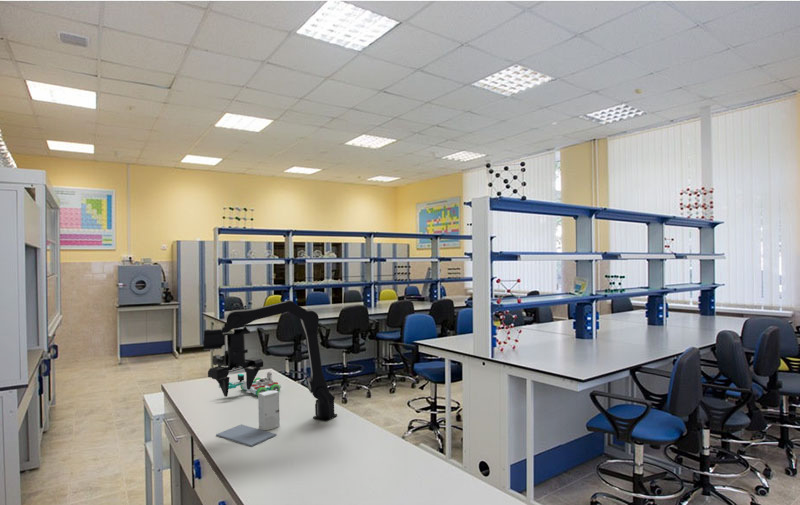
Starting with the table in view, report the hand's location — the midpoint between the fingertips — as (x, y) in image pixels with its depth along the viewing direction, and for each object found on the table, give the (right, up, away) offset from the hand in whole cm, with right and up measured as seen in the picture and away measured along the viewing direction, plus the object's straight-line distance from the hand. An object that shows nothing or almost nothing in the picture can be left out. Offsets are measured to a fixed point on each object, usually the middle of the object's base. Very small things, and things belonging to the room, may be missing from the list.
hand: (237, 392), depth 153 cm
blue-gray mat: (+5, -13, -5) cm, 14 cm away
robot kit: (-10, -14, +43) cm, 46 cm away
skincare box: (+10, -13, +2) cm, 17 cm away
